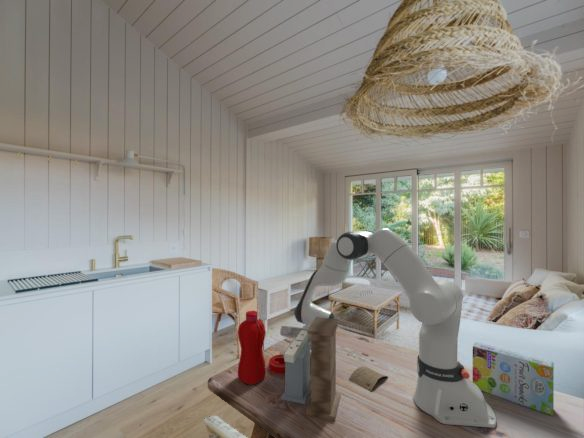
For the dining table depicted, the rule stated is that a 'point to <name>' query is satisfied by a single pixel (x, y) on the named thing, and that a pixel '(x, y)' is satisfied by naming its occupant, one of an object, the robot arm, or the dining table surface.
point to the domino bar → (296, 347)
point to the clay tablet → (365, 377)
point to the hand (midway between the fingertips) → (302, 330)
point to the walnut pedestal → (323, 369)
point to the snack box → (514, 377)
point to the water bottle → (251, 349)
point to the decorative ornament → (277, 364)
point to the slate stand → (298, 377)
